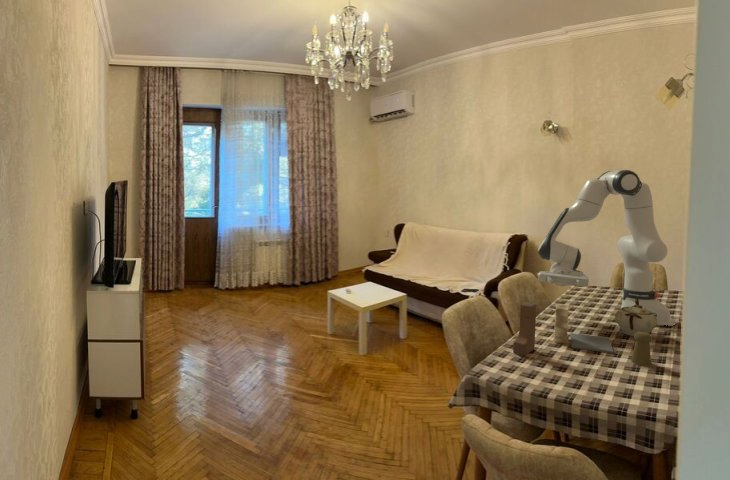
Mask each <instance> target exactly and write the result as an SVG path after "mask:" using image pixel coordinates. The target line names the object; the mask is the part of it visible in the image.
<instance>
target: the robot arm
mask: <svg viewBox="0 0 730 480" xmlns="http://www.w3.org/2000/svg"><path fill="white" fill-rule="evenodd" d="M609 195H613V196H614V195H617V196H618V195H620V196H621V197H622V199H623V210H624V211H623V212H624V223H625V225H626V227H627V229H628V230H629V232H630V234H627V235H623V236H621V237H620V238H619V239H618V241H617V244H616V247H617V250H618V252H619V253H620V255H621V258H622V263H623V268H624V280H623V281H624V282H623V283H624V285H623V287H622V291H621V298H622V301H621V306H620V309H621V308H623V307H628V306H634V305H636V304H635V299H638V300H639V306H642V307H643V308H645V309H647V310H649V311H651V312H652V313H653V314H654V315H655V317H656V319H657V325H656V326H664V325H666V327H668V326H669V327H674V326H673V325H675V324H676V325H677V321H676V319H675V318H673V317H671V312H670V310H669V308H668V307H667V306H666V305H665V304H663V303H662V302H661V301H660V300H659V298H660V297H661V296H660V293H658V292H657V291H655V290H653V283H654V280H653V279H654V274H653V271H652V270H651V268H650V264H649V263H659V262H662V261H663V260H665V258H666V257H667V255H668V247H667V245H666V243H665V242H664V241H663V240H662V239H661V237H660V235H659V232H658V229H657V227H656V224H655V217H654V203H653V195H652V192H651V189H650V185H648V184H647V183H646V182H642V181H641V180H640V177H639V176H638V174H637V173H636V172H634V171H632V170H630V169H615V170H608V171H606V172H604V173H602V174H601V175H599V177H598V178H590V179H588V180H587V181H585V183H584V184H583V185H582V188H581V189H580V191H579V193H578V194H577V197H576V199H575V201H574V203H573V204H572V205H571V206H570V207H566V208H564V209H563V211H562V212H561V213H560V214H559V216H558V217H557V219H556V220H555V222H554V224H553V225H552V227H551V228H550V230H549V232H547V235H546V236H545V238H543V239H542V241H541V242H540V243H539V245H538V248H537V254H538V255H539V257H540V258H541V259H542V260H545V261H551V262H553V263H552V265H551V266H550V268H549V271H543V270H542V271H538V272H537V273H536V276H537V281H538V282H542V283H549V284H554V285H556V286H558V287H566V286H567V287H568V286H569V287H570V286H574V287H584V288H585V287H586V288H587V287H588V286H589V277H588V276H587V274H584V271H582V270H577V269H578V267H579V265H580V262H581V259H582V254H581V250H580V248H578V247H575V246H573V245H570V244H566V243H564V242H560V241H558V240H557V237H559V234H560V232H561V231H562V229H563V227H564V226H565V225H567V224H569V223H574V222H575V223H576V222H577V223H579V222H582V223H583V222H589V221H593V220H594V219H596V218H597V217H598V216H599V214H600V212H601V210H602V209H603V206H604V202H605V200H606V199H607V197H608V196H609ZM667 325H668V326H667ZM676 325H675V326H676Z"/></svg>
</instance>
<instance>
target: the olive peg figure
mask: <svg viewBox="0 0 730 480" xmlns="http://www.w3.org/2000/svg"><path fill="white" fill-rule="evenodd" d="M633 338H634V340H635V343H634V348H633V351H632V356H631V359H630V361H631V363H633V364H634V365H637V366H643V367H650V366H651V365H652V358H651V357H652V356H651V345H650V344H651V342H652V339H653V337H652V334H650V333H646V332H636V333H635V335H634V336H633Z"/></svg>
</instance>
